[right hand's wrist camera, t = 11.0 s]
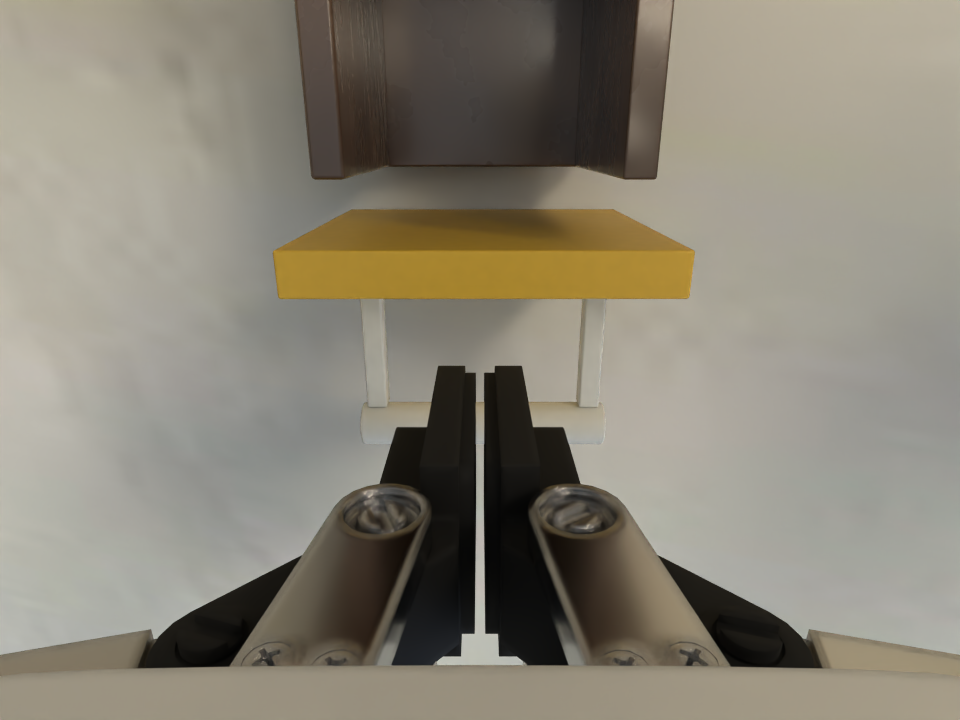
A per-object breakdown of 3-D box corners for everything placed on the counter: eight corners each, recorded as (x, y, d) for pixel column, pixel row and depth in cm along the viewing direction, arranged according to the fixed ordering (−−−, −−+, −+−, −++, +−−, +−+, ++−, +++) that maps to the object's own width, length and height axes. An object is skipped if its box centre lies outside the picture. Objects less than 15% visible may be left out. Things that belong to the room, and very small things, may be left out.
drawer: (602, 366, 25) (666, 485, 16) (361, 367, 25) (300, 485, 16) (650, -266, 18) (808, -642, 9) (315, -266, 18) (162, -641, 9)
